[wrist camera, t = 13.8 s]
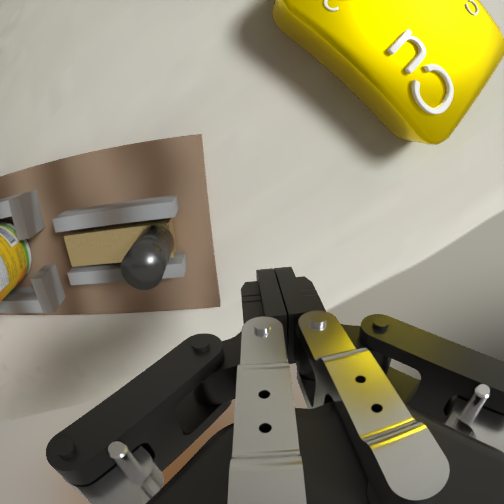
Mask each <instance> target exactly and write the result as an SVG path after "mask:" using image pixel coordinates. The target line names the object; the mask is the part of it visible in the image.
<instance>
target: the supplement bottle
mask: <svg viewBox="0 0 504 504" xmlns="http://www.w3.org/2000/svg"><path fill="white" fill-rule="evenodd" d="M31 261H32V258H31V251H30V247H29V244H28V242H27V240H26V239H24V240H18V238H17V234H16V230H15V226H14V225H12V224H10V223H7V222H2V223H0V302H1V301H2V300H3V299H4V298H5V297H6V296H7V295H8V294H9V293H10V292H11V291H12V290H13V289H14V288H15V287H16V286H17V285H18V284H19V283H20V282H21V281H22V280H23V279H24V277H25V276H26V275H27V274H28V272H29V270H30V267H31Z"/></svg>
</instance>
